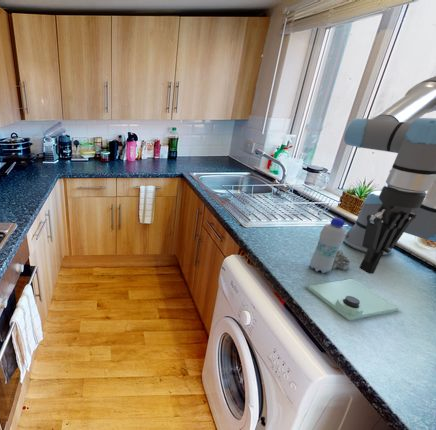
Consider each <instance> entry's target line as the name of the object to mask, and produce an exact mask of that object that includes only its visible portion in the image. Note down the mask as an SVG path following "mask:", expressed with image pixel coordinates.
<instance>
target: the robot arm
mask: <svg viewBox="0 0 436 430" xmlns="http://www.w3.org/2000/svg"><path fill="white" fill-rule="evenodd" d="M435 111H436V75H435V76H432V77H430V78H427V79H425V80H422V81H420V82H419V83H416V84H415V85H414V86H412V87H411V88H410V89H408V90H407V91H406V93H405V94H404V96H403V97H402V98H400V99H398V100H397V101H395V102H394V103H392V104H391V105H390V106H388V107H387V108H385V109H384V110H382V111H381V112H380V113H378V114H376V115H375V116H373V117H372V118H367V117H365V118H359V117H358V118H355V119H353V120H352V121H350V123H349V124H348V126H347V128H346V130H345V132H344V137H343V141H344V143H345V144H346V145H347V146H351V147H355V148H359V149H367V150H368V149H369V150H374V151H380V152H381V151H382V152H389V153H393V154H396V157H395V158H394V162H393V164H392V166H391V169H390V170H389V173H388V176H387V178H386V180H385V185H383V186H382V188H381V190H375V191H371V192H369V193H368V194H367V195H366V197H365V199H364V201H363V204H362V206H361V208H360V211H359V213H358V215H357V218H356V221H355V223H354V224H353V225H352V226H351V228H349V230H347V231H346V233H345V238H344V240H343V242H344V244H345V245H347V246H348V247H350V248H351V249H354V250H357V251H359V252H362V253H364V257H363V258H362V261H361V263H360V266H359V270H362V271H363V272H365V273H366V274H368V275H373V274H375V272H376V269H377V267H378V265H379V263H380V261H381V259H382V257H383V256H386V255H390V253H391V251H392V249H394V247H395V246H396V245H397V243H398V241H399V240H400V238H401V237H402V236H403V234H404V233H405V234H407V235H410V236H414V237H418V238H420V239H424V240H426V241H429V242H434V243H436V117H435V118H434V117H423V116H424V115H426V114H429V113H433V112H435Z"/></svg>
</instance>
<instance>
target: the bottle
mask: <svg viewBox="0 0 436 430" xmlns="http://www.w3.org/2000/svg"><path fill="white" fill-rule="evenodd" d="M344 226H345V221H344V219H342V218H339V217H334V218H332V219H331V221H330V223H327V224H326V223H325V224H324V226H323V227H322V229H321V231H320V233H319V236H318V237H319V239H318V242H317V245H316V247H315V250H314V252H313V255H312V257H311V259H310V263H309V264H310V268H311V270H314V271H315V272H319V271H320V273H321V274H325V273H329V272H330V271H332V266H333V263H334V259H335V257H336V254H337V252H338V250H340V248H341V245H342V244H343V242H344V241H343V240H344V238H345V234H346V233H347V230H346V228H345V227H344Z"/></svg>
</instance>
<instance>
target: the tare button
mask: <svg viewBox="0 0 436 430" xmlns="http://www.w3.org/2000/svg"><path fill="white" fill-rule="evenodd" d="M359 303H360V301H359V300H358V299H357V298H355V297H352V296H346V298H345V300H344V304H346V305H347V306H349V307H352V308H357V307H358V305H359Z"/></svg>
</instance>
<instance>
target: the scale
mask: <svg viewBox="0 0 436 430" xmlns="http://www.w3.org/2000/svg"><path fill="white" fill-rule="evenodd" d="M307 289H308V290H309V291H311V293H313V294H314V295H315V296H317V297H318V298H319V299H321V300H322V301H323V302H324V303H325V304H327V305H328V306H329V307H331V308H332V309H333V310H335V311H336V312H337V313H338V314H340V315H341V316H343V317H344V319H347V320H348V321H353V320H357V319H363V318H368V317H373V316H378V315H382V314H383V315H384V314H389V313H393V312H397V311H399V309H400V307H399V306H397V305H396V304H394V303H393V302H391V301H389V300H388V299H386V298H385V297H383V296H381V295H380V294H378V293H377V292H375V291H373V290H371V288H369V287H367V286H366V285H364V284H362V283H360V282H359V281H357V280H356V279H354V278H349V279H341V280H335V281H330V282H324V283H318V284H310V285H308V286H307ZM346 296H352V297H355V298H357V299H358V300H359V301H360V303H359V305H358V307H357V308H352V307H349V306H347V305H346V304H344V300H345V298H346Z"/></svg>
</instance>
